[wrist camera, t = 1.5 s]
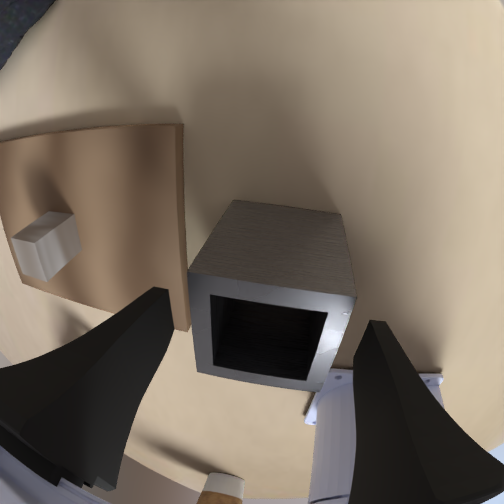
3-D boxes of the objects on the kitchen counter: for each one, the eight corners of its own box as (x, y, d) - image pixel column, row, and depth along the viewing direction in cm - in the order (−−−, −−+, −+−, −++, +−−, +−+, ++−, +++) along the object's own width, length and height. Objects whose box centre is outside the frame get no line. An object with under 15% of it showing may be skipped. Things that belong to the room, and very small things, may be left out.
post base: (188, 122, 13) (132, 141, 9) (194, 316, 19) (167, 375, 15) (1, 140, 15) (-49, 162, 11) (32, 273, 21) (-3, 307, 17)
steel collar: (340, 214, 13) (357, 297, 8) (321, 299, 16) (319, 392, 11) (233, 199, 14) (186, 271, 9) (231, 285, 16) (197, 371, 11)
